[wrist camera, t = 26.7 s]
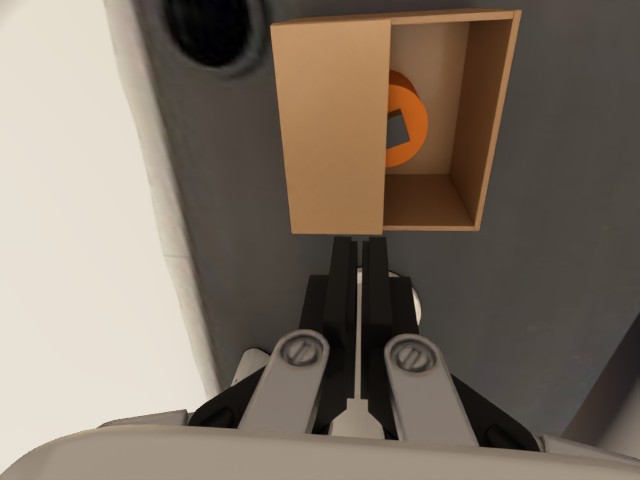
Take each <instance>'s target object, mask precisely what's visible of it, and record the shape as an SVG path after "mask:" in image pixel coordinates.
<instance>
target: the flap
mask: <svg viewBox="0 0 640 480" xmlns="http://www.w3.org/2000/svg"><path fill="white" fill-rule="evenodd" d="M270 29H271V39H272V48H273V58H274V67H275V77H276V86H277V96H278V106H279V115H280V125H281V134H282V144H283V153H284V163H285V172H286V182H287V191H288V201H289V210H290V220H291V229H292V234H383V211H384V186H385V161H386V137H387V112H388V88H389V63H390V39H391V19H375V20H357V21H338V22H320V23H302V24H284V25H271V26H270Z"/></svg>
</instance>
